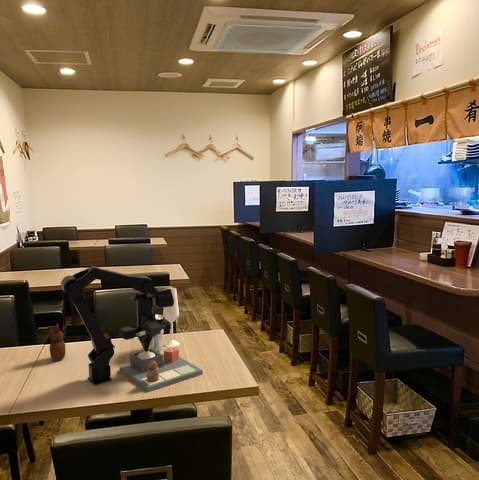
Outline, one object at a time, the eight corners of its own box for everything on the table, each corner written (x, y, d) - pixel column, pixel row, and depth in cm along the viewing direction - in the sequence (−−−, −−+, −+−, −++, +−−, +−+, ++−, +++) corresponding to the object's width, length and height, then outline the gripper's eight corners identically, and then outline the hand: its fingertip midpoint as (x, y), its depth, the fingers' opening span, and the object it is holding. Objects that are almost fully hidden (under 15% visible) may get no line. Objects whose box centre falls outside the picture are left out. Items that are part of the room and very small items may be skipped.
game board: (148, 391, 159) (147, 374, 158) (119, 370, 176) (118, 354, 175) (202, 373, 172) (202, 358, 172) (171, 355, 189) (170, 341, 188)
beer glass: (166, 349, 196) (165, 314, 194) (161, 356, 189) (160, 319, 187) (149, 348, 197) (148, 313, 194) (144, 355, 190) (143, 319, 188)
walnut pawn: (150, 383, 161) (150, 364, 160) (145, 379, 164) (144, 360, 163) (161, 379, 164) (160, 361, 163) (155, 376, 167) (154, 357, 166)
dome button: (142, 367, 171) (142, 355, 170) (134, 362, 176) (134, 350, 175) (158, 363, 175) (158, 351, 174) (150, 357, 180) (149, 346, 179)
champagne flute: (164, 347, 198) (163, 291, 195) (162, 341, 204) (161, 287, 201) (180, 346, 200) (179, 290, 196) (178, 340, 206) (177, 286, 203)
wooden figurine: (66, 361, 184) (64, 323, 182) (50, 363, 182) (48, 325, 180) (65, 354, 190) (63, 318, 188) (50, 357, 188) (48, 320, 186)
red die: (172, 362, 179) (172, 352, 178) (164, 360, 181) (163, 350, 180) (178, 359, 182) (178, 349, 181) (170, 357, 184) (170, 347, 183)
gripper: (131, 320, 161) (133, 364, 163) (178, 310, 172) (179, 351, 175) (117, 313, 169) (118, 354, 171) (163, 303, 181) (163, 343, 183)
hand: (146, 351), depth 175 cm, fingers closed, pressing on dome button
